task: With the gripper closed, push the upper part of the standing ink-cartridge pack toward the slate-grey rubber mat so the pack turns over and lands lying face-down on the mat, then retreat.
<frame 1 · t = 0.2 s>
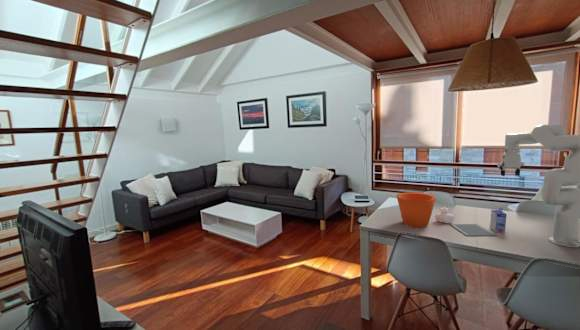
hand: (510, 175, 193), 31 cm above the table, fingers open, 9 cm apart
flowerpot: (415, 224, 193), on the table
mat: (472, 230, 177), on the table
white lumpy piece: (444, 222, 195), on the table
ink cartridge box: (497, 230, 176), on the table
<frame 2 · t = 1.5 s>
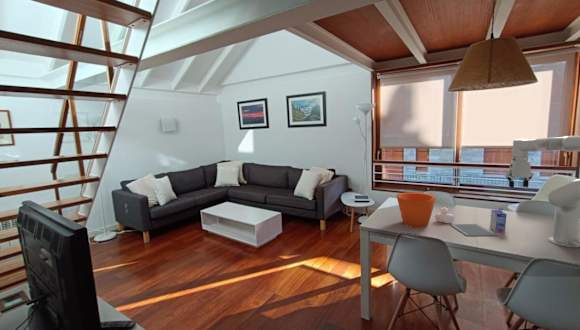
hand: (518, 186, 171), 28 cm above the table, fingers open, 7 cm apart
nothing on the table moved.
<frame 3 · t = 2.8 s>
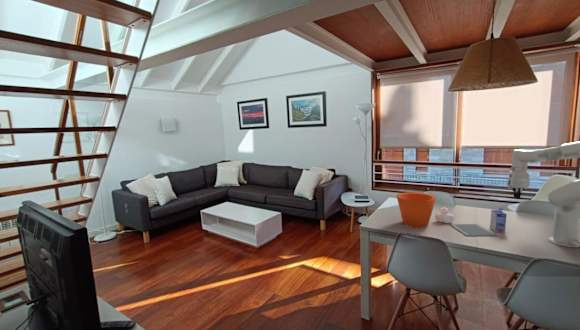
hand: (516, 198, 173), 21 cm above the table, fingers closed
nothing on the table moved.
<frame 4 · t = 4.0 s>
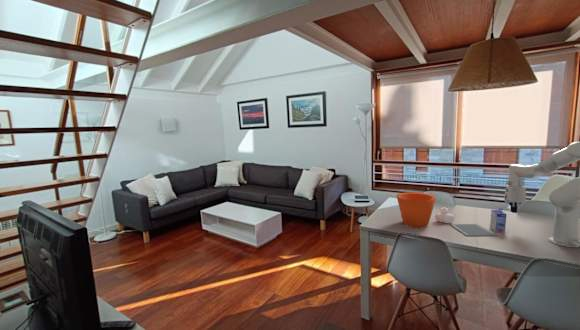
hand: (513, 212, 174), 11 cm above the table, fingers closed
nothing on the table moved.
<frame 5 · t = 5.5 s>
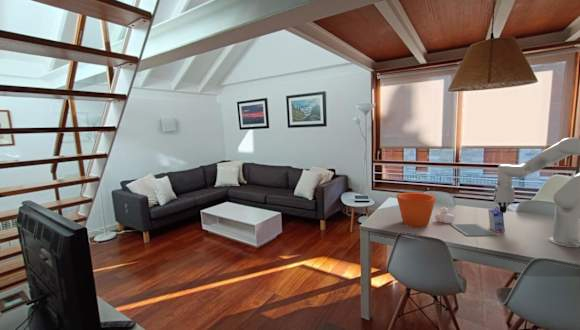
hand: (502, 212, 174), 12 cm above the table, fingers closed
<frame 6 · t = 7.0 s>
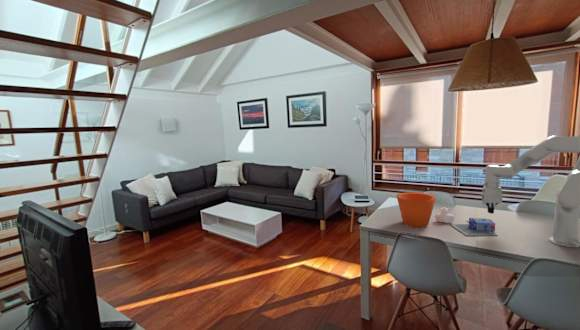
hand: (490, 212, 175), 11 cm above the table, fingers closed
ink cartridge box: (493, 224, 176), point 3 cm above the table, touching mat
everything else where it was.
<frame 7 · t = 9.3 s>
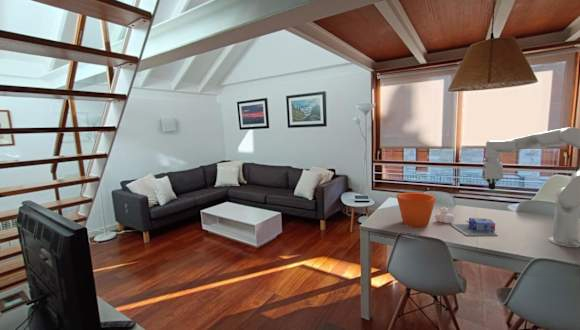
hand: (491, 189, 173), 27 cm above the table, fingers closed
nothing on the table moved.
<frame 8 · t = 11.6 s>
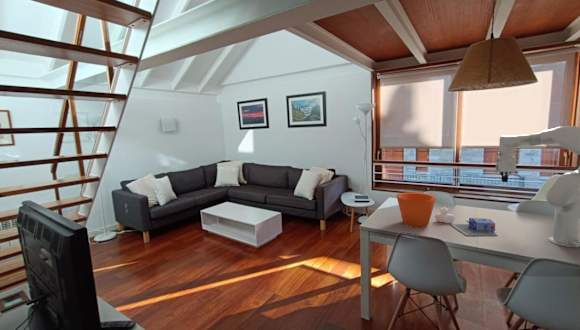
hand: (504, 181, 182), 29 cm above the table, fingers closed
nothing on the table moved.
at the end: ink cartridge box tilted 92°; ink cartridge box inside the target area (9.9 cm from its centre), point 3.4 cm above the table; the gripper is holding nothing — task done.
